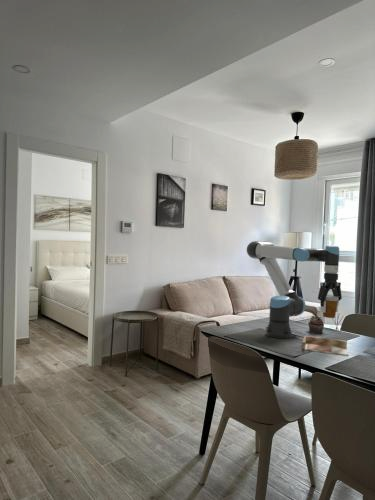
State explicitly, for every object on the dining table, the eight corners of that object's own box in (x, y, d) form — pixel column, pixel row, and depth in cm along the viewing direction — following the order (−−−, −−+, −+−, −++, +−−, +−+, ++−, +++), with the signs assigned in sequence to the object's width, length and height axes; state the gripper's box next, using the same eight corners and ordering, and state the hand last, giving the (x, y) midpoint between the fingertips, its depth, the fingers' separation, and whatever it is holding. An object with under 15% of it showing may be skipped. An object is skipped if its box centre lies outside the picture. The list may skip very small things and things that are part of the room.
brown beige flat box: (302, 349, 186) (302, 342, 186) (303, 342, 200) (304, 335, 200) (348, 355, 178) (348, 348, 178) (346, 348, 192) (346, 340, 192)
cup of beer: (337, 316, 207) (338, 295, 207) (338, 319, 198) (339, 297, 198) (319, 314, 210) (320, 294, 210) (320, 317, 201) (321, 296, 201)
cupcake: (327, 333, 226) (327, 317, 226) (315, 334, 222) (316, 318, 222) (316, 329, 235) (317, 314, 235) (304, 330, 231) (305, 315, 231)
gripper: (322, 273, 196) (320, 313, 196) (350, 273, 205) (348, 312, 205) (312, 272, 202) (310, 311, 203) (339, 272, 212) (337, 309, 212)
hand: (329, 311), depth 204 cm, fingers closed on cup of beer, 9 cm apart
